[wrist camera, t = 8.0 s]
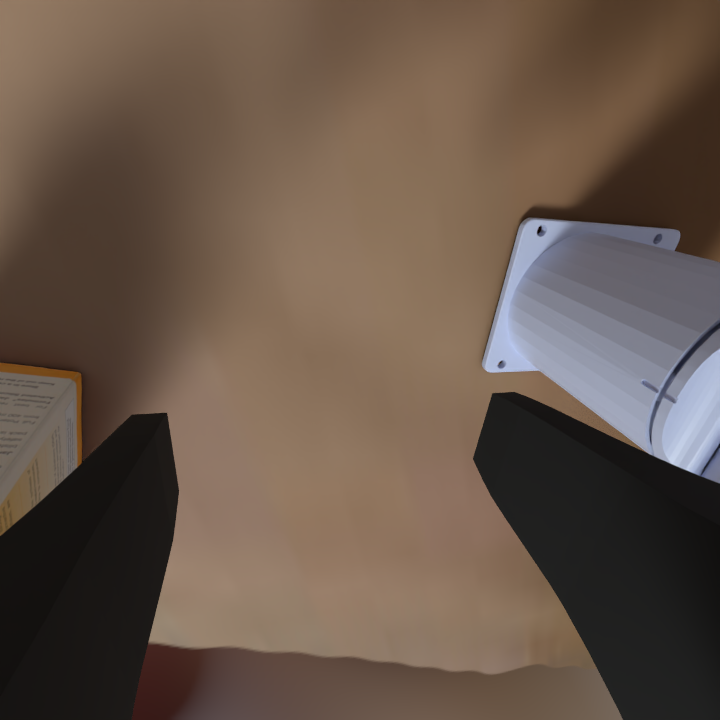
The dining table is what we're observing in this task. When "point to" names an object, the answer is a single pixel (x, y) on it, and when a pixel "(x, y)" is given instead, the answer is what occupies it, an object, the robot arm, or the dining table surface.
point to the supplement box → (36, 435)
